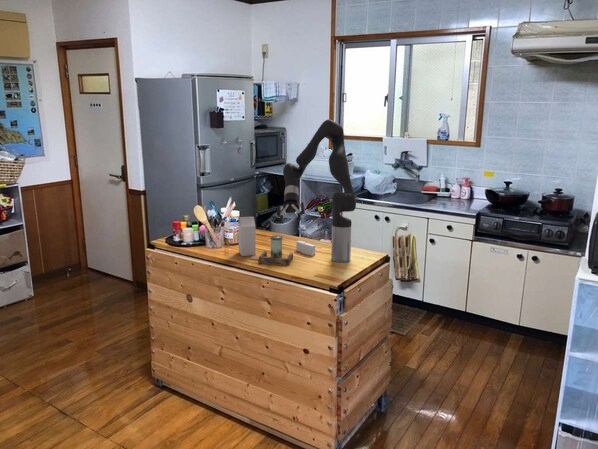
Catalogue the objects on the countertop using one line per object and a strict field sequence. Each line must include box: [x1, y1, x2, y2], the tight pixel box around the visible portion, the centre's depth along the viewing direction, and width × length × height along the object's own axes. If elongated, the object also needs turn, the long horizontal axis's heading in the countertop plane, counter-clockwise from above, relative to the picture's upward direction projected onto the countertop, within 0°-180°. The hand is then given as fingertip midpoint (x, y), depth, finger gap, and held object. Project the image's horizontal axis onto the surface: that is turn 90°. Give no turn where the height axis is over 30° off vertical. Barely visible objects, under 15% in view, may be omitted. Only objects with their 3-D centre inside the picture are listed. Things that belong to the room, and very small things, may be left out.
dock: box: [258, 250, 294, 266], centre depth 238 cm, size 14×10×3 cm
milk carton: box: [238, 216, 257, 257], centre depth 247 cm, size 7×7×19 cm
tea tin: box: [269, 234, 283, 258], centre depth 237 cm, size 6×6×12 cm
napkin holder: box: [295, 240, 316, 256], centre depth 253 cm, size 15×11×6 cm
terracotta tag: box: [249, 255, 260, 261], centre depth 242 cm, size 5×5×1 cm
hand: (290, 221), depth 250 cm, fingers open, 8 cm apart
